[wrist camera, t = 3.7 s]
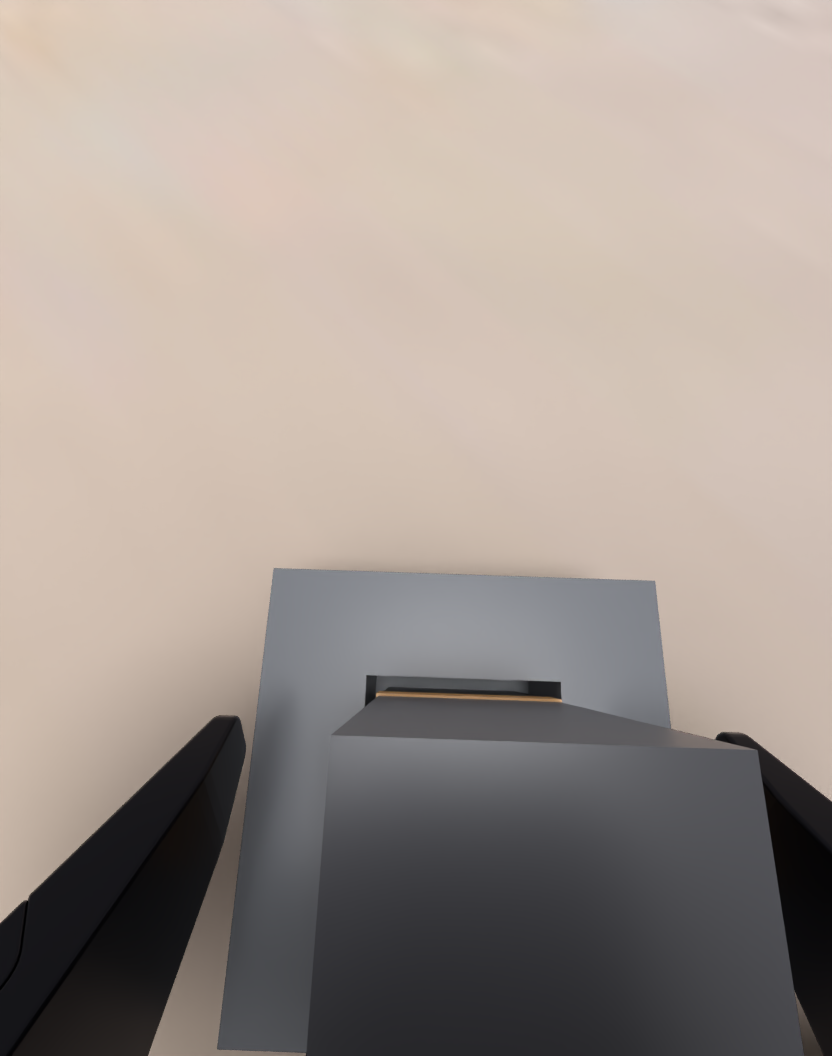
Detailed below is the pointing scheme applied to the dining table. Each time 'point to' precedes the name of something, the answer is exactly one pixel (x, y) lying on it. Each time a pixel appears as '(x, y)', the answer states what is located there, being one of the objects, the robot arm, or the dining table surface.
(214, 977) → the dining table surface
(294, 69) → the dining table surface
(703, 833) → the plug
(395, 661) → the socket block
